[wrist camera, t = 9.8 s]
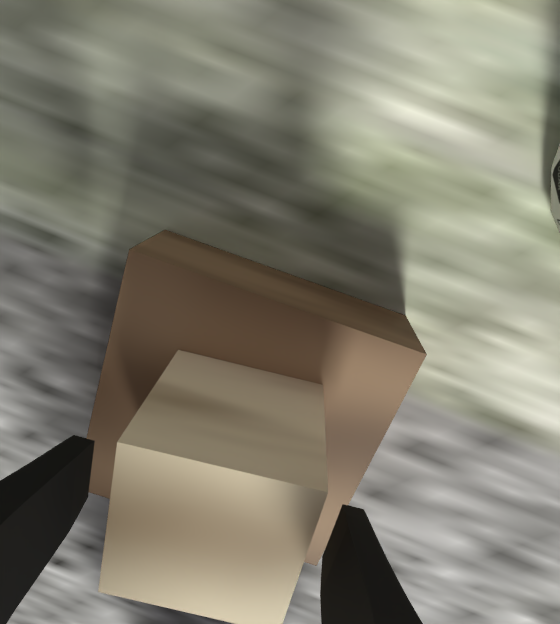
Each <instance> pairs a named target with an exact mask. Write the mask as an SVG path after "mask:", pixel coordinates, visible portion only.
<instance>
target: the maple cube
mask: <svg viewBox="0 0 560 624" xmlns="http://www.w3.org/2000/svg"><path fill="white" fill-rule="evenodd" d="M327 494H328V477H327V456H326V435H325V415H324V394H323V385H321V384H317V383H313V382H309V381H305V380H301V379H297V378H292V377H288V376H284V375H280V374H276V373H272V372H268V371H264V370H260V369H255V368H251V367H247V366H243V365H239V364H235V363H231V362H227V361H222V360H218V359H214V358H210V357H206V356H202V355H198V354H194V353H190V352H185V351H181V350H178V351H177V352H176V354H175V355H174V357H173V358H172V360H171V361H170V363H169V364H168V366H167V367H166V369H165V371H164V372H163V374H162V375H161V377H160V378H159V380H158V381H157V383H156V384H155V386H154V387H153V389H152V390H151V392H150V393H149V395H148V396H147V398H146V399H145V401H144V402H143V404H142V405H141V407H140V408H139V410H138V411H137V413H136V414H135V416H134V417H133V419H132V420H131V422H130V423H129V425H128V426H127V428H126V429H125V431H124V432H123V434H122V435H121V437H120V439H119V440H118V442H117V448H116V456H115V463H114V471H113V479H112V487H111V495H110V503H109V511H108V519H107V527H106V534H105V542H104V550H103V558H102V566H101V574H100V582H99V590H98V592H101V593H105V594H109V595H114V596H118V597H122V598H127V599H131V600H135V601H140V602H144V603H148V604H153V605H157V606H161V607H166V608H170V609H174V610H178V611H183V612H187V613H191V614H196V615H200V616H204V617H209V618H213V619H217V620H222V621H226V622H230V623H235V624H282V623H283V620H284V618H285V615H286V612H287V609H288V606H289V603H290V600H291V597H292V595H293V592H294V589H295V586H296V583H297V580H298V577H299V575H300V572H301V569H302V566H303V563H304V560H305V557H306V555H307V552H308V549H309V546H310V543H311V540H312V537H313V534H314V532H315V529H316V526H317V523H318V520H319V517H320V514H321V512H322V509H323V506H324V503H325V500H326V497H327Z"/></svg>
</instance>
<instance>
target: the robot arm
mask: <svg viewBox="0 0 560 624" xmlns="http://www.w3.org/2000/svg"><path fill="white" fill-rule="evenodd" d="M94 443H95V441H94V440H90V439H86V438H82V437H78V436H75V435H73V436H72V437H70V438H68V439H66V440H65V441H63V442H62V443H60V444H59V445H57V446H55V447H54V448H52V449H51V450H49V451H48V452H46V453H45V454H43V455H41V456H40V457H38V458H37V459H35V460H33V461H32V462H30V463H29V464H27V465H25V466H24V467H22V468H20V469H19V470H17V471H16V472H14V473H12V474H11V475H9V476H7V477H6V478H4V479H2V480H1V481H0V624H6V623H7V622H8V620H9V618H10V617H11V615H12V614H13V612H14V611H15V609H16V608H17V606H18V605H19V603H20V602H21V601H22V599H23V598H24V596H25V595H26V593H27V592H28V591H29V589H30V588H31V586H32V585H33V583H34V582H35V580H36V579H37V578H38V576H39V575H40V573H41V572H42V570H43V569H44V567H45V566H46V565H47V563H48V562H49V560H50V559H51V557H52V556H53V554H54V553H55V552H56V550H57V549H58V547H59V546H60V544H61V543H62V541H63V540H64V538H65V537H66V535H67V534H68V532H69V531H70V529H71V527H72V525H73V524H74V522H75V520H76V518H77V516H78V515H79V513H80V511H81V509H82V507H83V505H84V503H85V501H86V499H87V497H88V492H89V484H90V476H91V468H92V460H93V451H94ZM320 598H321V620H322V624H423V623H422V622H421V620H420V618H419V617H418V615H417V613H416V612H415V610H414V608H413V606H412V605H411V603H410V601H409V600H408V598H407V596H406V594H405V592H404V590H403V589H402V587H401V585H400V583H399V581H398V579H397V577H396V575H395V573H394V571H393V570H392V568H391V566H390V564H389V562H388V560H387V558H386V556H385V554H384V552H383V549H382V547H381V545H380V543H379V541H378V539H377V537H376V535H375V532H374V530H373V528H372V526H371V524H370V522H369V519H368V517H367V515H366V513H365V511H364V509H360V508H356V507H352V506H348V505H344V504H342V507H341V510H340V512H339V515H338V517H337V520H336V523H335V525H334V528H333V530H332V533H331V535H330V538H329V541H328V543H327V546H326V548H325V551H324V554H323V557H322V573H321V592H320Z"/></svg>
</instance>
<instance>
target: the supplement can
mask: <svg viewBox="0 0 560 624" xmlns="http://www.w3.org/2000/svg"><path fill="white" fill-rule="evenodd" d="M551 213H552V215H553V218H554V220H555V223H556V225H557V228H558V230H559V233H560V144H559V147H558V150H557V153H556V156H555V158H554V161H553V164H552V167H551Z"/></svg>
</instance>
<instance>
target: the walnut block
mask: <svg viewBox="0 0 560 624" xmlns="http://www.w3.org/2000/svg"><path fill="white" fill-rule="evenodd" d="M178 350H181V351H185V352H190V353H194V354H198V355H202V356H206V357H210V358H214V359H218V360H222V361H227V362H231V363H235V364H239V365H243V366H247V367H251V368H255V369H260V370H264V371H268V372H272V373H276V374H280V375H284V376H288V377H292V378H297V379H301V380H305V381H309V382H313V383H317V384H321V385H323V394H324V415H325V435H326V456H327V477H328V494H327V497H326V500H325V503H324V506H323V509H322V512H321V514H320V517H319V520H318V523H317V526H316V529H315V532H314V534H313V537H312V540H311V543H310V546H309V549H308V552H307V555H306V557H305V560H304V562H306V563H309V564H312V565H315V566H316V565H317V564H318V562H319V560H320V558H321V556H322V554H323V552H324V550H325V548H326V546H327V543H328V541H329V538H330V535H331V533H332V530H333V528H334V525H335V523H336V520H337V517H338V515H339V512H340V510H341V507H342V504H344V505H348V504H349V502H350V500H351V498H352V496H353V495H354V493H355V491H356V489H357V487H358V485H359V483H360V481H361V479H362V477H363V475H364V474H365V472H366V470H367V468H368V466H369V464H370V462H371V460H372V458H373V456H374V454H375V452H376V451H377V449H378V447H379V445H380V443H381V441H382V439H383V437H384V435H385V433H386V431H387V429H388V428H389V426H390V424H391V422H392V420H393V418H394V416H395V414H396V412H397V410H398V408H399V406H400V405H401V403H402V401H403V399H404V397H405V395H406V393H407V391H408V389H409V387H410V385H411V384H412V382H413V380H414V378H415V376H416V374H417V372H418V370H419V368H420V366H421V364H422V362H423V361H424V359H425V357H426V355H427V354H426V352H425V350H424V349H423V347H422V345H421V343H420V341H419V339H418V338H417V336H416V334H415V332H414V330H413V328H412V327H411V325H410V323H409V321H408V319H407V317H406V316H405V315H402V314H399V313H397V312H394V311H391V310H388V309H385V308H383V307H380V306H377V305H374V304H371V303H369V302H366V301H363V300H360V299H358V298H355V297H352V296H349V295H346V294H344V293H341V292H338V291H335V290H332V289H330V288H327V287H324V286H321V285H318V284H316V283H313V282H310V281H307V280H304V279H302V278H299V277H296V276H293V275H290V274H288V273H285V272H282V271H279V270H276V269H274V268H271V267H268V266H265V265H262V264H260V263H257V262H254V261H251V260H248V259H246V258H243V257H240V256H237V255H234V254H232V253H229V252H226V251H223V250H220V249H218V248H215V247H212V246H209V245H206V244H204V243H201V242H198V241H195V240H192V239H190V238H187V237H184V236H181V235H179V234H176V233H173V232H170V231H167V230H164V231H162V232H160V233H158V234H156V235H155V236H153V237H151V238H149V239H147V240H145V241H144V242H142V243H140V244H138V245H136V246H134V247H133V248H131V249H129V252H128V257H127V261H126V266H125V270H124V275H123V279H122V283H121V288H120V292H119V297H118V301H117V305H116V310H115V314H114V319H113V323H112V328H111V332H110V336H109V341H108V345H107V350H106V354H105V359H104V363H103V367H102V372H101V376H100V381H99V385H98V389H97V394H96V398H95V403H94V407H93V412H92V416H91V420H90V425H89V429H88V434H87V438H86V439H90V440H94V441H95V443H94V451H93V460H92V468H91V476H90V484H89V492H90V493H93V494H97V495H100V496H103V497H106V498H109V499H110V495H111V487H112V479H113V471H114V463H115V456H116V448H117V442H118V440H119V439H120V437H121V435H122V434H123V432H124V431H125V429H126V428H127V426H128V425H129V423H130V422H131V420H132V419H133V417H134V416H135V414H136V413H137V411H138V410H139V408H140V407H141V405H142V404H143V402H144V401H145V399H146V398H147V396H148V395H149V393H150V392H151V390H152V389H153V387H154V386H155V384H156V383H157V381H158V380H159V378H160V377H161V375H162V374H163V372H164V371H165V369H166V367H167V366H168V364H169V363H170V361H171V360H172V358H173V357H174V355H175V354H176V352H177V351H178Z"/></svg>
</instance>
